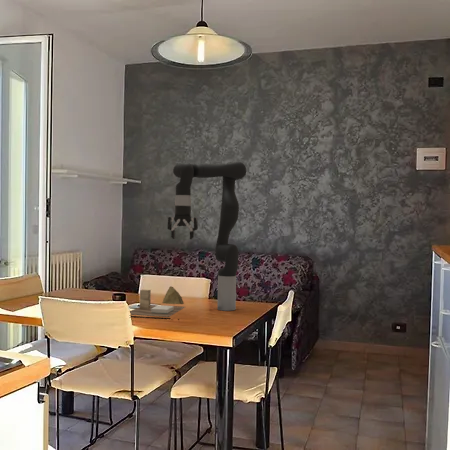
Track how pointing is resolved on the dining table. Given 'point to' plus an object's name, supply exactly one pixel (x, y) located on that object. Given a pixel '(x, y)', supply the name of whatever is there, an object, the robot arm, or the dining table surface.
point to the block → (145, 299)
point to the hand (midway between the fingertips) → (182, 239)
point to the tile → (162, 309)
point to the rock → (172, 297)
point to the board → (148, 313)
